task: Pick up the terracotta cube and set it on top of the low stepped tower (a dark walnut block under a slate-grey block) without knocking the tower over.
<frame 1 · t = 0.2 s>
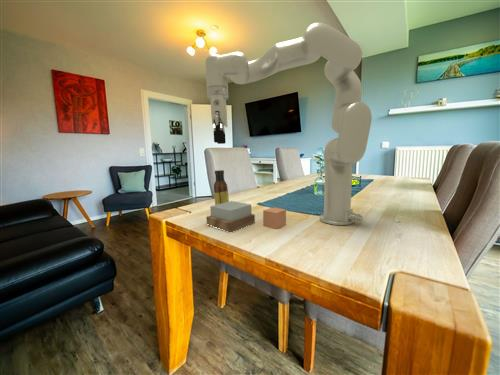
hand: (220, 143, 81), 31 cm above the table, tool pointing down, fingers open, 9 cm apart
walnut block: (231, 225, 84), on the table, touching slate block
sauce bottle: (222, 214, 99), on the table
terracotta cube: (274, 225, 81), on the table
slate block: (231, 215, 83), point 3 cm above the table, touching walnut block
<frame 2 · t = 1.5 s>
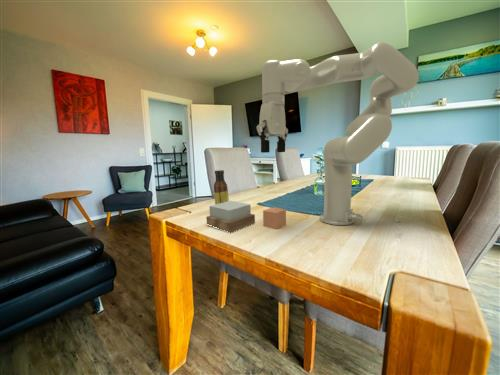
hand: (273, 152, 77), 27 cm above the table, tool pointing down, fingers open, 9 cm apart
walnut block: (231, 225, 84), on the table
slate block: (230, 215, 83), point 4 cm above the table
everything else where it was.
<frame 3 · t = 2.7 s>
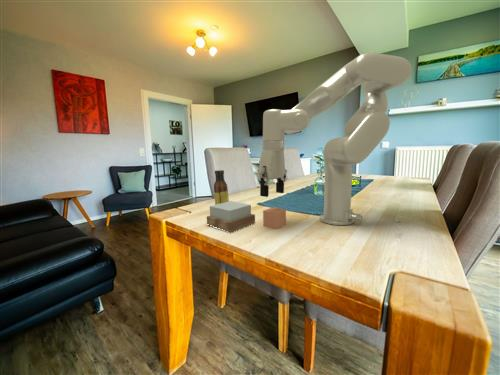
hand: (272, 194, 79), 12 cm above the table, tool pointing down, fingers open, 9 cm apart
walnut block: (231, 225, 84), on the table, touching slate block
slate block: (230, 215, 83), point 3 cm above the table, touching walnut block
everything else where it was.
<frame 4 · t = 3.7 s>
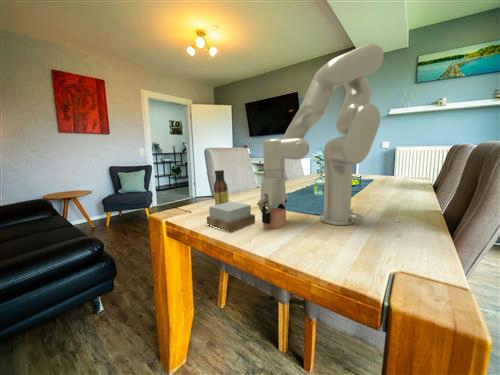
hand: (274, 219, 81), 2 cm above the table, tool pointing down, fingers open, 9 cm apart
nothing on the table moved.
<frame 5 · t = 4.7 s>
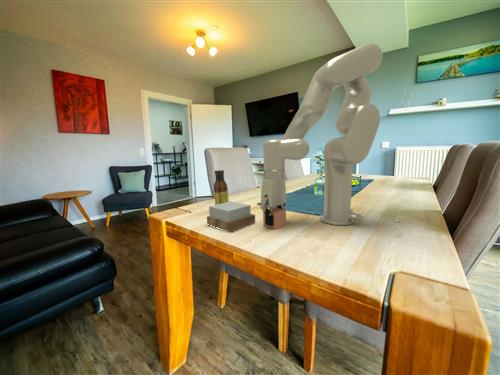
hand: (274, 222, 81), 1 cm above the table, tool pointing down, fingers closed on terracotta cube, 6 cm apart
terracotta cube: (274, 225, 81), on the table, touching gripper
everything else where it was.
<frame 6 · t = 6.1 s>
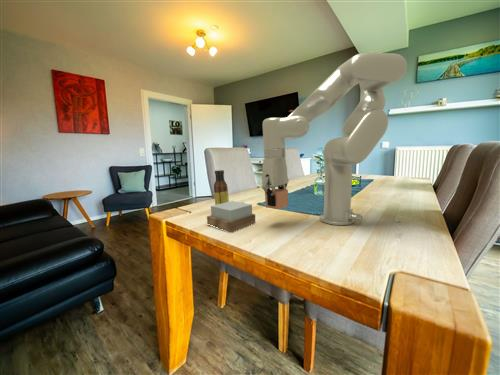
hand: (277, 203, 80), 8 cm above the table, tool pointing down, fingers closed on terracotta cube, 6 cm apart
terracotta cube: (277, 206, 80), point 7 cm above the table, touching gripper
everything else where it was.
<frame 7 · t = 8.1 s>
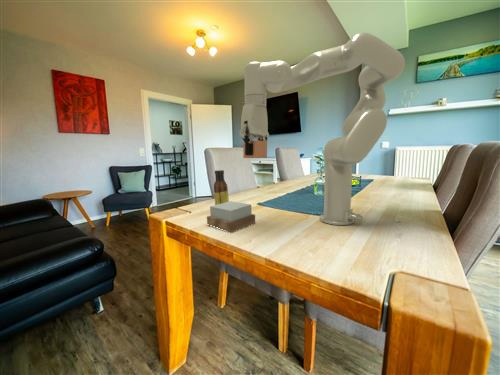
hand: (255, 154, 78), 26 cm above the table, tool pointing down, fingers closed on terracotta cube, 6 cm apart
walnut block: (231, 225, 84), on the table
terracotta cube: (255, 158, 78), point 25 cm above the table, touching gripper
slate block: (231, 215, 83), point 3 cm above the table
everything else where it was.
when the fingers open (10 cm above the table, at t = 13.7 s): terracotta cube drops 1 cm, point 7 cm above the table.
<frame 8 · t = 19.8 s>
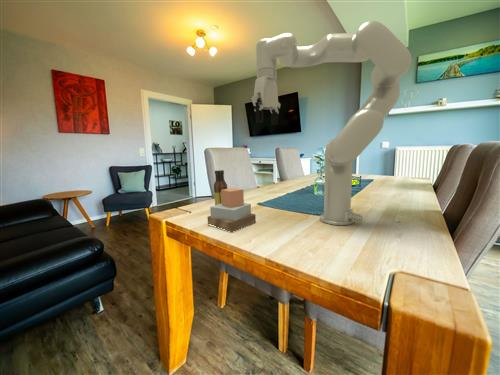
hand: (267, 123, 86), 38 cm above the table, tool pointing down, fingers open, 9 cm apart
walnut block: (232, 225, 84), on the table, touching slate block
terracotta cube: (232, 205, 83), point 7 cm above the table
slate block: (231, 215, 83), point 3 cm above the table, touching walnut block
everything else where it was.
at the end: terracotta cube 0.6 cm off-centre on the walnut block, point 8.0 cm above the walnut block's base; terracotta cube tilted 0°; slate block 0.1 cm off-centre on the walnut block, point 4.0 cm above the walnut block's base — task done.
